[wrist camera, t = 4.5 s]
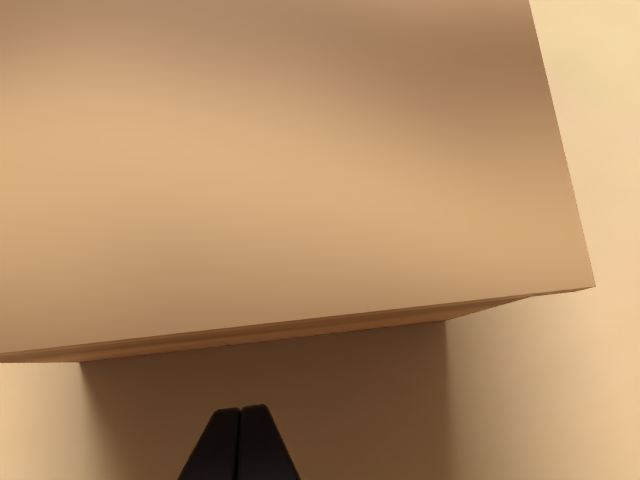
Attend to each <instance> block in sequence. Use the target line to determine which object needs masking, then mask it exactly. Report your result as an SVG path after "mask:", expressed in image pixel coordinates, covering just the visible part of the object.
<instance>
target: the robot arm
mask: <svg viewBox="0 0 640 480" xmlns="http://www.w3.org/2000/svg"><path fill="white" fill-rule="evenodd" d="M177 480H301V479H300V476H299V474H298V472H297V470H296V468H295V466H294V463H293V461H292V459H291V457H290V455H289V453H288V450H287V448H286V446H285V444H284V442H283V440H282V437H281V435H280V433H279V431H278V429H277V427H276V424H275V422H274V420H273V418H272V416H271V414H270V411H269V409H268V407H267V406H266V405H264V404H260V405H252V406H245V407H243V408H242V410H240V408H236V407H235V408H227V409H219V410H217V411H215V412H214V414H213V415H212V417H211V419H210V420H209V422H208V424H207V426H206V428H205V430H204V431H203V433H202V435H201V437H200V439H199V441H198V442H197V444H196V446H195V448H194V450H193V452H192V453H191V455H190V457H189V459H188V461H187V462H186V464H185V466H184V468H183V470H182V472H181V473H180V475H179V477H178V479H177Z"/></svg>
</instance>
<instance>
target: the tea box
mask: <svg viewBox="0 0 640 480" xmlns="http://www.w3.org/2000/svg"><path fill="white" fill-rule="evenodd" d="M592 287H596V285H595V280H594V276H593V272H592V268H591V263H590V259H589V255H588V251H587V246H586V242H585V238H584V234H583V229H582V225H581V221H580V217H579V212H578V208H577V204H576V200H575V195H574V191H573V187H572V183H571V178H570V174H569V170H568V166H567V161H566V157H565V153H564V149H563V144H562V140H561V136H560V132H559V127H558V123H557V119H556V115H555V110H554V106H553V102H552V98H551V93H550V89H549V85H548V81H547V76H546V72H545V68H544V64H543V59H542V55H541V51H540V47H539V42H538V38H537V34H536V30H535V25H534V21H533V17H532V13H531V8H530V4H529V0H0V363H48V362H86V361H95V360H103V359H112V358H121V357H130V356H138V355H147V354H156V353H165V352H173V351H182V350H191V349H200V348H208V347H217V346H226V345H235V344H243V343H252V342H261V341H270V340H278V339H287V338H296V337H305V336H313V335H322V334H331V333H340V332H348V331H357V330H366V329H375V328H383V327H392V326H401V325H410V324H418V323H427V322H436V321H445V320H449V319H452V318H456V317H459V316H463V315H467V314H470V313H474V312H477V311H481V310H485V309H488V308H492V307H495V306H499V305H503V304H506V303H510V302H513V301H517V300H521V299H524V298H528V297H531V296H540V295H549V294H558V293H567V292H576V291H580V290H584V289H588V288H592Z"/></svg>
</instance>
